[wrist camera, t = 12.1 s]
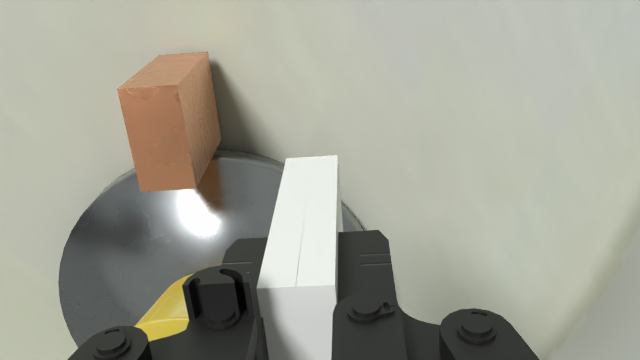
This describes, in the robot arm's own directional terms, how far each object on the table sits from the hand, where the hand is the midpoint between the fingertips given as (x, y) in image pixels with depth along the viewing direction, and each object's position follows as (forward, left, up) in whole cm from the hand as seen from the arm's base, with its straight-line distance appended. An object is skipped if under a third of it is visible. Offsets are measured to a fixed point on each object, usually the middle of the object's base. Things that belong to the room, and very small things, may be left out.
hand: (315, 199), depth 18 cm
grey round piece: (-7, -9, -13) cm, 17 cm away
